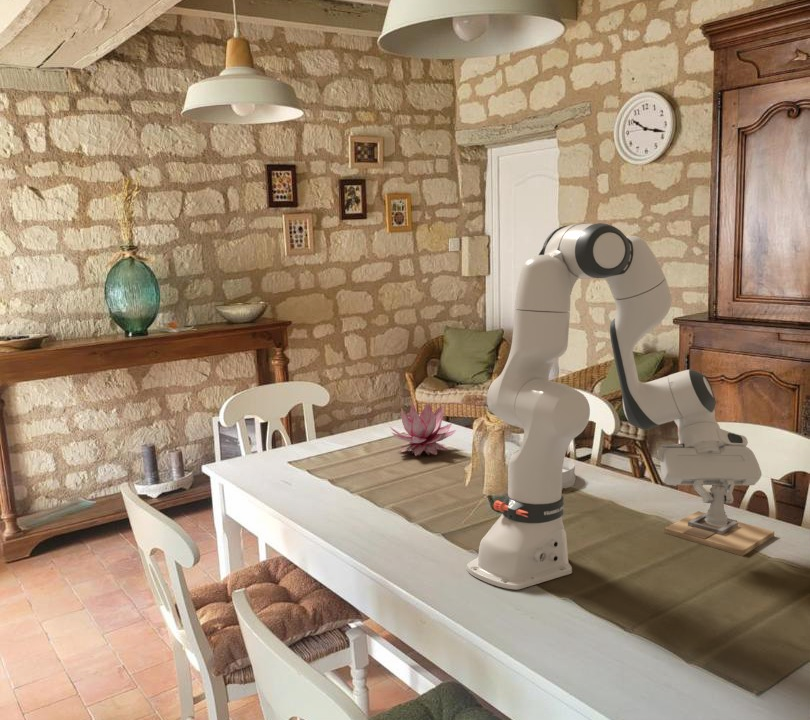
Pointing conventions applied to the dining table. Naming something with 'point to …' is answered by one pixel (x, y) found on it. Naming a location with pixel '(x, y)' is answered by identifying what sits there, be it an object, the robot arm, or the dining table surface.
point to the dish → (568, 473)
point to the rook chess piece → (717, 507)
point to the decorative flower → (424, 430)
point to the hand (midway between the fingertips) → (718, 502)
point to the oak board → (720, 534)
